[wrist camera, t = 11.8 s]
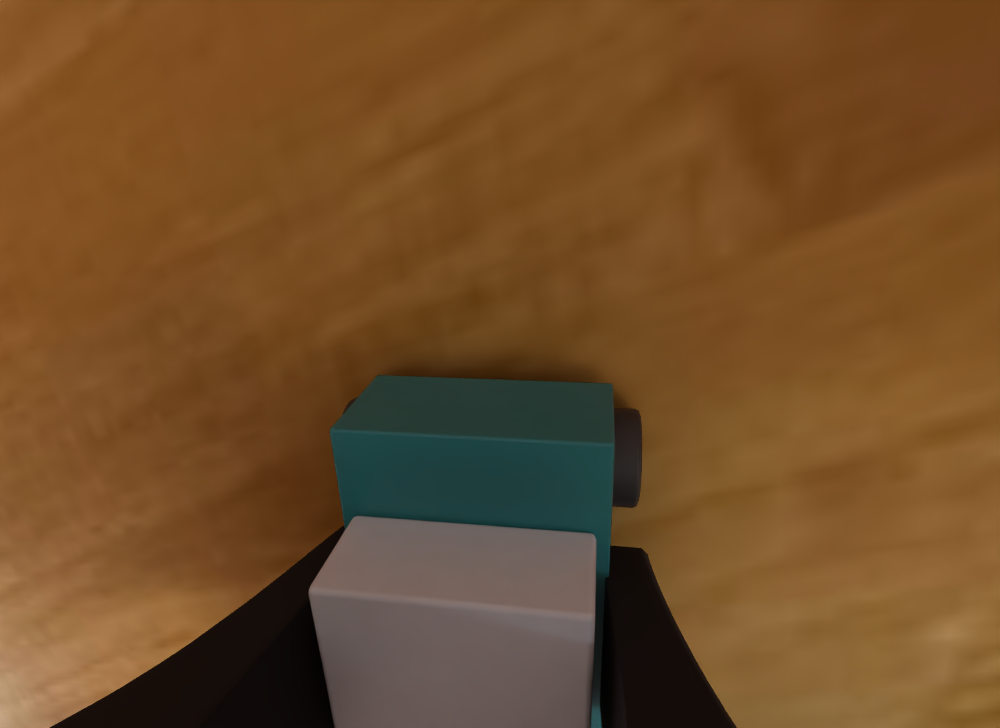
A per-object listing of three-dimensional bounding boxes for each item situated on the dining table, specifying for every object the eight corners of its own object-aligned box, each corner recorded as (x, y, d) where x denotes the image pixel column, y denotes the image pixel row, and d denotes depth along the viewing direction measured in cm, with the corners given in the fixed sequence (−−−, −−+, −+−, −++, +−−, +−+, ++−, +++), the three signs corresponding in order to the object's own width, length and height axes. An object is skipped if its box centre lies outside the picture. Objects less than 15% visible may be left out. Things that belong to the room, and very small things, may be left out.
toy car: (362, 362, 11) (234, 491, 7) (639, 371, 10) (661, 522, 6) (399, 650, 13) (320, 855, 10) (621, 675, 13) (627, 908, 9)
